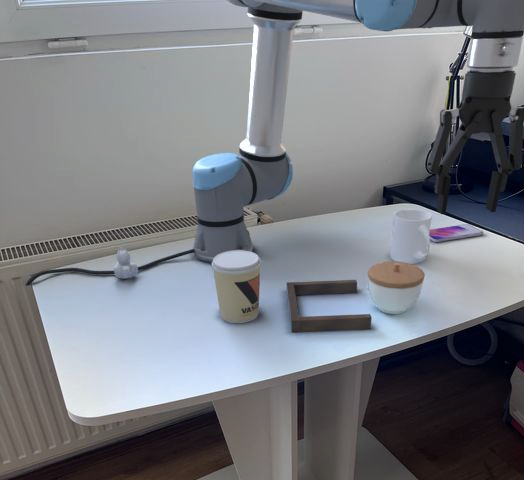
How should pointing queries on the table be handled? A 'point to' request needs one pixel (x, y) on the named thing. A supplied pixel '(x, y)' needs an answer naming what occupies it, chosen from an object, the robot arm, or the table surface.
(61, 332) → the table surface
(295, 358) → the table surface
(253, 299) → the coffee cup
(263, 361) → the table surface
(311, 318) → the bay
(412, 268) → the trinket box
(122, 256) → the grey lumpy figure
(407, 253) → the mug
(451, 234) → the smartphone
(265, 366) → the table surface
